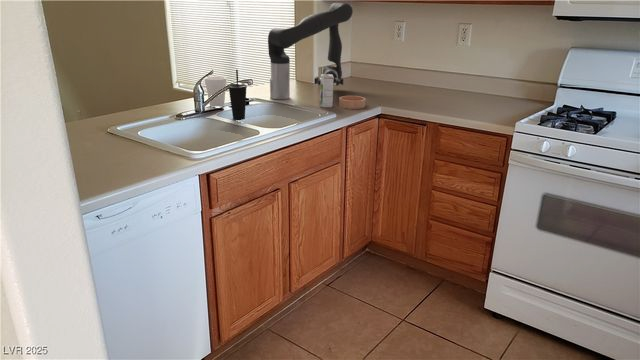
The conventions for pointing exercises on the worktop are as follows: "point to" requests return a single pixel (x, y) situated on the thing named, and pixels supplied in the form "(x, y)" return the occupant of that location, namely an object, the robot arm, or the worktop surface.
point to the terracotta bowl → (352, 102)
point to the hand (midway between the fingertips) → (328, 83)
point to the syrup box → (326, 90)
